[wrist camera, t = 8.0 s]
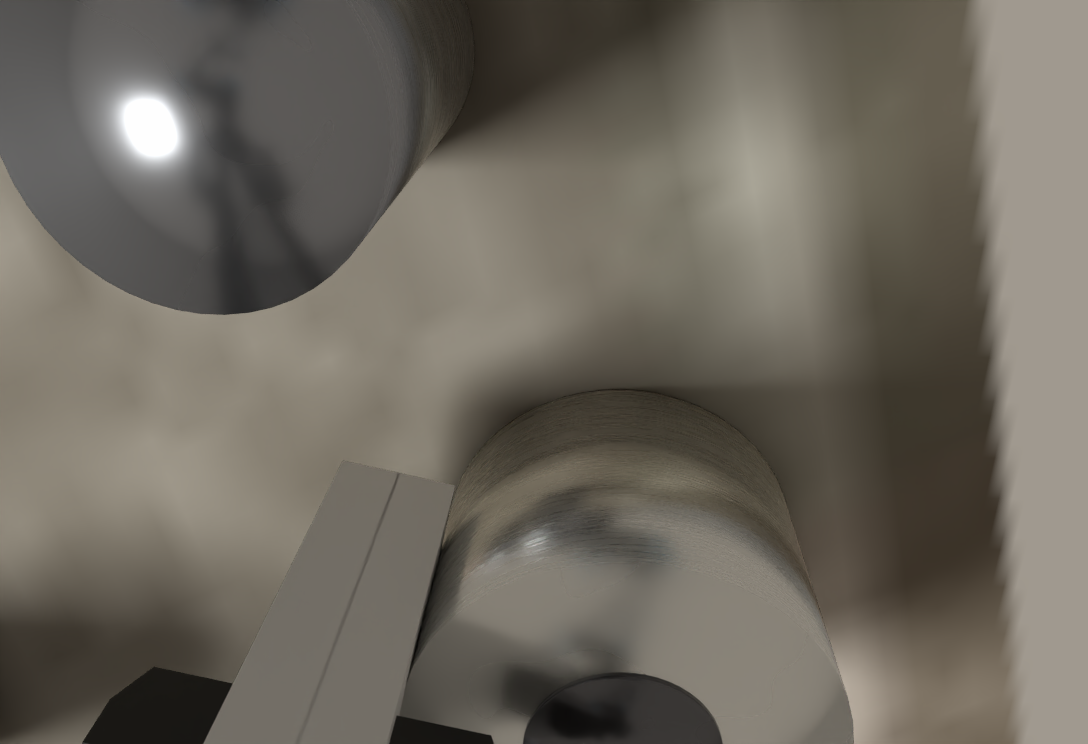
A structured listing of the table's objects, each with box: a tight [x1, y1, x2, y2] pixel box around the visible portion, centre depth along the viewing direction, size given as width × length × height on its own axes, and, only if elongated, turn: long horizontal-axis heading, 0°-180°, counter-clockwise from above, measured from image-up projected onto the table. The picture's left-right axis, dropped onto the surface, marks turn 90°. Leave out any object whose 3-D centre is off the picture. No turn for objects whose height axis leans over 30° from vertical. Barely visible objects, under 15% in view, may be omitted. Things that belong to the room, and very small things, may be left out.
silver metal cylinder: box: [399, 390, 854, 744], centre depth 13 cm, size 5×5×4 cm
